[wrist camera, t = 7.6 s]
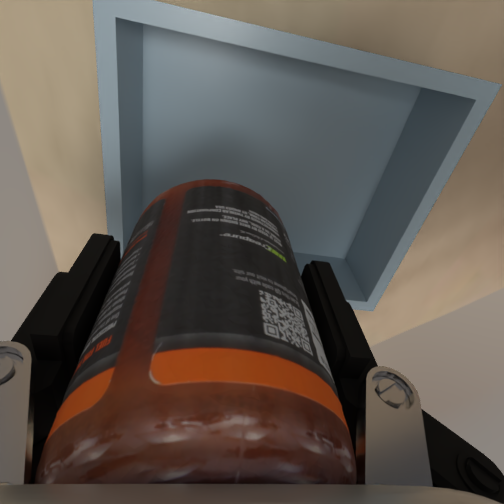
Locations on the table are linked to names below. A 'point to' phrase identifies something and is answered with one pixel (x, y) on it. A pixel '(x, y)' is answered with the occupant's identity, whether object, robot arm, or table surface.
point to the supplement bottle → (203, 358)
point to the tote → (280, 131)
